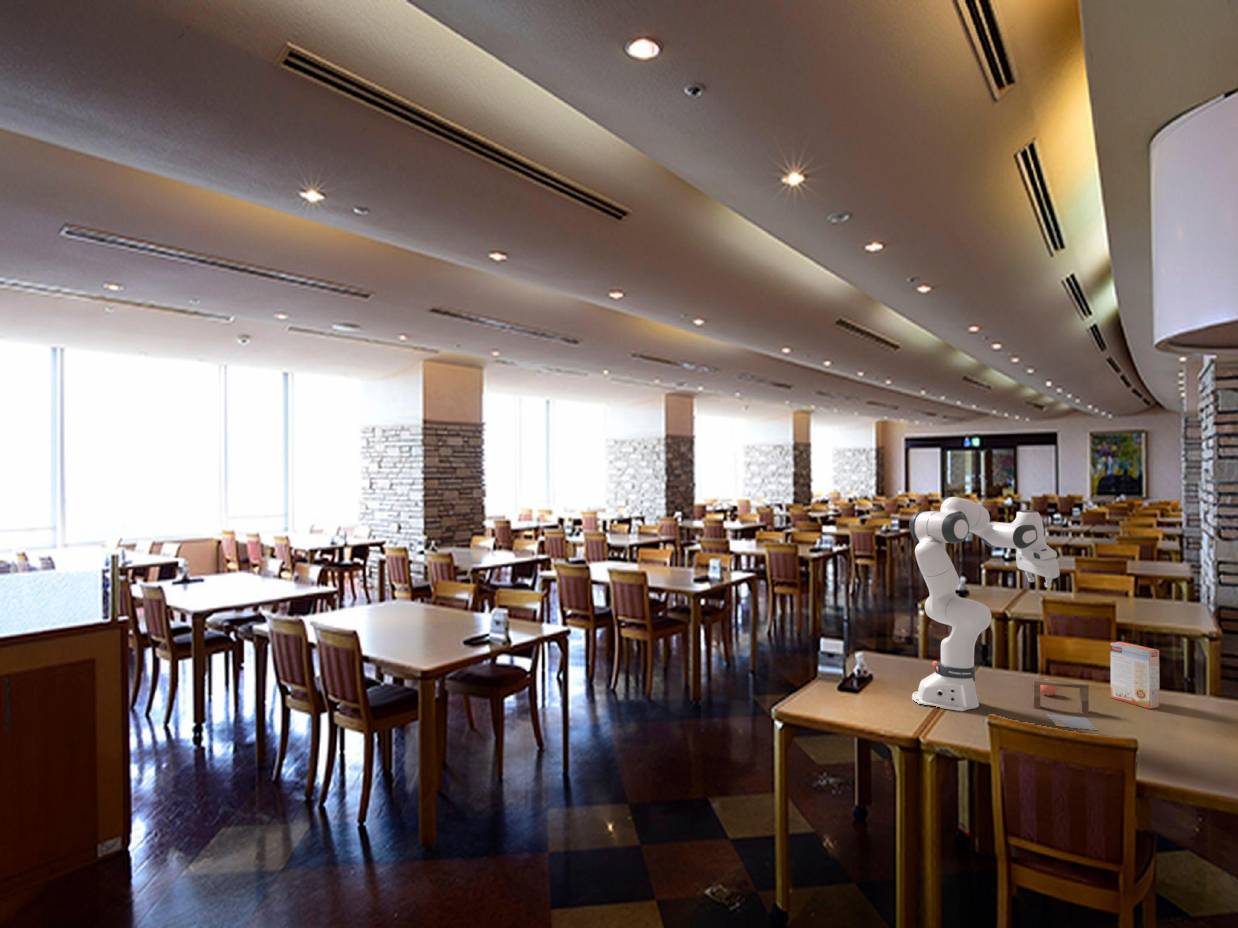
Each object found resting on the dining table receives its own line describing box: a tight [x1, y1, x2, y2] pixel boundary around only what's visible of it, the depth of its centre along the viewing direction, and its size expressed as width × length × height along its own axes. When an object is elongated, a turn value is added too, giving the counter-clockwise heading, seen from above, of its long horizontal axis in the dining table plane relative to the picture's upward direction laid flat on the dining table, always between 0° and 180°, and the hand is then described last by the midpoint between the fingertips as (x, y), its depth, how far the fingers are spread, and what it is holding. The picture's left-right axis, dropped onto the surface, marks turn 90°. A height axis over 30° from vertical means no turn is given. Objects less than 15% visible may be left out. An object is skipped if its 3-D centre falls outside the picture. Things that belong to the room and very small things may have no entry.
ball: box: [1040, 678, 1058, 697], centre depth 271 cm, size 6×6×6 cm
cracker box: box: [1110, 641, 1160, 710], centre depth 262 cm, size 14×6×21 cm, turn 22°
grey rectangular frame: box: [1031, 678, 1090, 714], centre depth 256 cm, size 3×17×10 cm, turn 72°
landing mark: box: [1046, 713, 1098, 731], centre depth 242 cm, size 12×12×1 cm
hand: (1039, 584), depth 279 cm, fingers open, 8 cm apart
